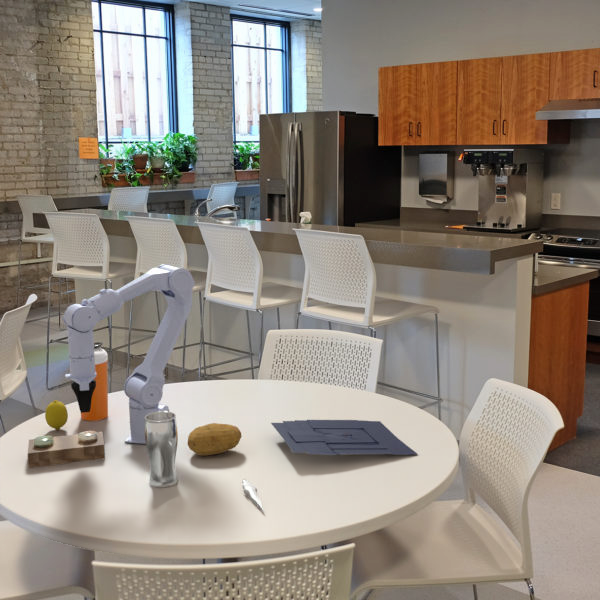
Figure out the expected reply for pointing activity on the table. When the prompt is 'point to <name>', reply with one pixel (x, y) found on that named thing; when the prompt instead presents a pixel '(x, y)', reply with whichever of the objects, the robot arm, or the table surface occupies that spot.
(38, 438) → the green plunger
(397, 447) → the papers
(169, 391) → the table surface
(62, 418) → the lemon
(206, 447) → the potato
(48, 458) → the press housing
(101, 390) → the shaker bottle
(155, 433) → the beer glass
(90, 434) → the silver knob
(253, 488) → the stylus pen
